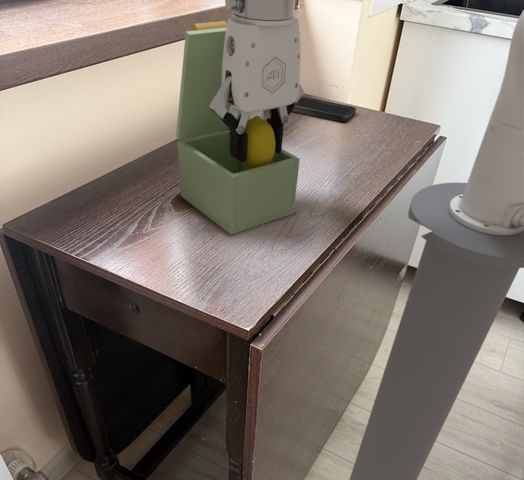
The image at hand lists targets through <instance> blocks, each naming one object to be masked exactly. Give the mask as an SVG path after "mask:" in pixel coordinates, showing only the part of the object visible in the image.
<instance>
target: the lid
mask: <svg viewBox="0 0 524 480" xmlns="http://www.w3.org/2000/svg"><path fill="white" fill-rule="evenodd" d="M227 24H228V22H226V21H225V20H221V21H219V20H218V21H209V22H199V23H192V24H191V26H190V30H187V31H185V37H184V46H183V47H184V48H183V59H182V68H181V69H182V70H181V80H180V88H179V89H180V90H179V91H180V92H179V100H178V101H179V102H178V111H177V112H178V113H177V124H176V132H175V133H176V134H175V137H176V138H177V139H178V140H185V139H190V138H194V137H199V136H203V135H208V134H213V133H217V132H222V131H226V130H230V128H228V127H227V126H226V124H225V123H224V122H223V121H222V120H221V119H220V118H219V116H217V115H216V114H215V113H214V112H213V111H212V110H211V109H210V103H211V102H212V100H213V99H214V97H215V95H216V94H217V92H218V90H219V89H220V87H221V81H222V60H223V49H224V41H225V35H226V29H227ZM230 106H231V104H226V109H227V110H228V111H229V110H230ZM239 113H240V111H239V112H238V116H237V120H238V117H239Z"/></svg>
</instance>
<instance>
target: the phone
mask: <svg viewBox="0 0 524 480" xmlns="http://www.w3.org/2000/svg"><path fill="white" fill-rule="evenodd" d="M356 111H357V107H355V106H351V105H346V104H342V103H337V102H332V101H327V100H323V99H318V98H313V97H309V96H305V95H302V96H301V98H300V99H299V100H298V102H297V103H296V104H295V107H294V109H293V110H292V111H291V112H294V113H299V114H304V115H308V116H312V117H317V118H320V119H321V118H322V119H326V120H330V121H331V120H332V121H334V122H341V123H347V122H348V121H350V120H351V119H352V118H353V117H354V116H355V115H356V113H357V112H356Z"/></svg>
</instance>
